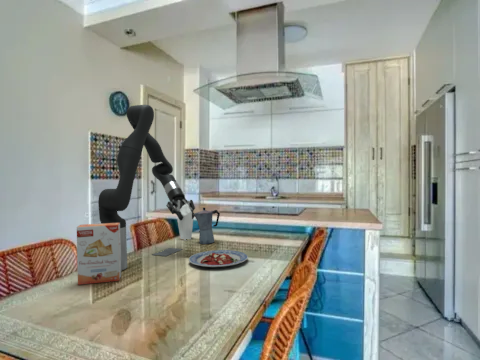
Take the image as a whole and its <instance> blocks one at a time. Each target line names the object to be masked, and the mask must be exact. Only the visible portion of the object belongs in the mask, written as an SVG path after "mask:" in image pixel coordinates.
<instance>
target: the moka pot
mask: <svg viewBox="0 0 480 360" xmlns="http://www.w3.org/2000/svg"><path fill="white" fill-rule="evenodd" d="M193 213H194V214H195V217H194V218H195V220H196V221H197V226H198V229H199V230H198V233H199V241H198V242H199V243H198V244H201V245H207V244H213V243H215V236H214V232H213V228H214V227H217V226H218V224H219V219H220V215H221V213H220V212H219V211H218V210H217V209H215V210H206V207H202V210H201V211H197V212H193ZM213 215H217V216H216V221H215V224H213Z"/></svg>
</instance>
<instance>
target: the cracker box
mask: <svg viewBox="0 0 480 360" xmlns="http://www.w3.org/2000/svg"><path fill="white" fill-rule="evenodd" d="M76 256H77V259H76V260H77V261H76V262H77V264H76V265H77V285H78V286H80V285H90V284H99V283H108V282H110V281H111V282H119V281H121V277H122V270H121V242H120V223H104V224H101V223H87V224H79V225H78V226H77V227H76ZM111 282H110V283H111Z"/></svg>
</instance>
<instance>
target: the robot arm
mask: <svg viewBox="0 0 480 360" xmlns="http://www.w3.org/2000/svg"><path fill="white" fill-rule="evenodd" d="M126 117H127V121H128V122H129V125H130V126H131V128H133V131H132V132H131V133H130V134H129V135H128V136H127V137H126V138H125V139H124V141H123V142H122V143H121V145H120V147H119V150H118V153H117V156H116V164H117V168H118V172H119V180H118V183H117V186H116V188H104V189H103V190H101V192H100V193H99V195H98V200H97V201H98V204H97V205H98V214H99V222H100V224H104V223H120V242H121V271H123V270H126V269H127V268H128V251H127V250H128V247H127V246H128V245H127V244H128V243H127V221H126V220H125V219H124V218H123V217H121V216H120V215H119V214H118V212H123V211H125V210H127V208H128V206H129V205H130V201H131V197H132V192H133V186H134V183H135V182H134V180H135V176H136V173H137V170H138V165H139V163H140V161H141V156H142V153H143V149H144V148H145V150H146V153H147V155H148V157H149V159H150V161H151V163H154V164H156V165H154V166H153V167H152V169H151V172H152V175H153V177H155V179H157V180H158V181H159V182H160V183H161V186H162V187H163V189H164V192H165V194H166V196H167V198H168V200H169V201H167V203H166V208H167V209H168V210H169V212H170V213H171V214H172V215H174V214H175V215H176V216H177V218H179V219H180V220H182V219H183V216H182V214H181V212H179V211H180V209H181V208H182V206H183V205H185V204H188V205H189V208H190V210H191V212H192V219H193V220H194V218H195V214H194V213H195V212H194V211H195V209H196V206H195V204H194V201H193V199H190V200H187V199H186V197H185V194H184V191H183V190H182V188H181V186H180V185H179V183H178V182H177V180H176V178H175V176H174V175H172V173H173V171H174V167H173V165H172V163H170V162H169V160H168V159H167V158H166V156H165V153H164V151H163V149H162V146H161V144H160V143H159V142H158V140H157V139H156V138H155V137H154V136H152V134H150V133H149V132H150V129H151V128H152V124H153V122H154V119H155V118H154V117H155V111H154V109H153V107H152V106H151V105H149V104H137V105H130V106H129V107H128V108H127V110H126Z"/></svg>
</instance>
